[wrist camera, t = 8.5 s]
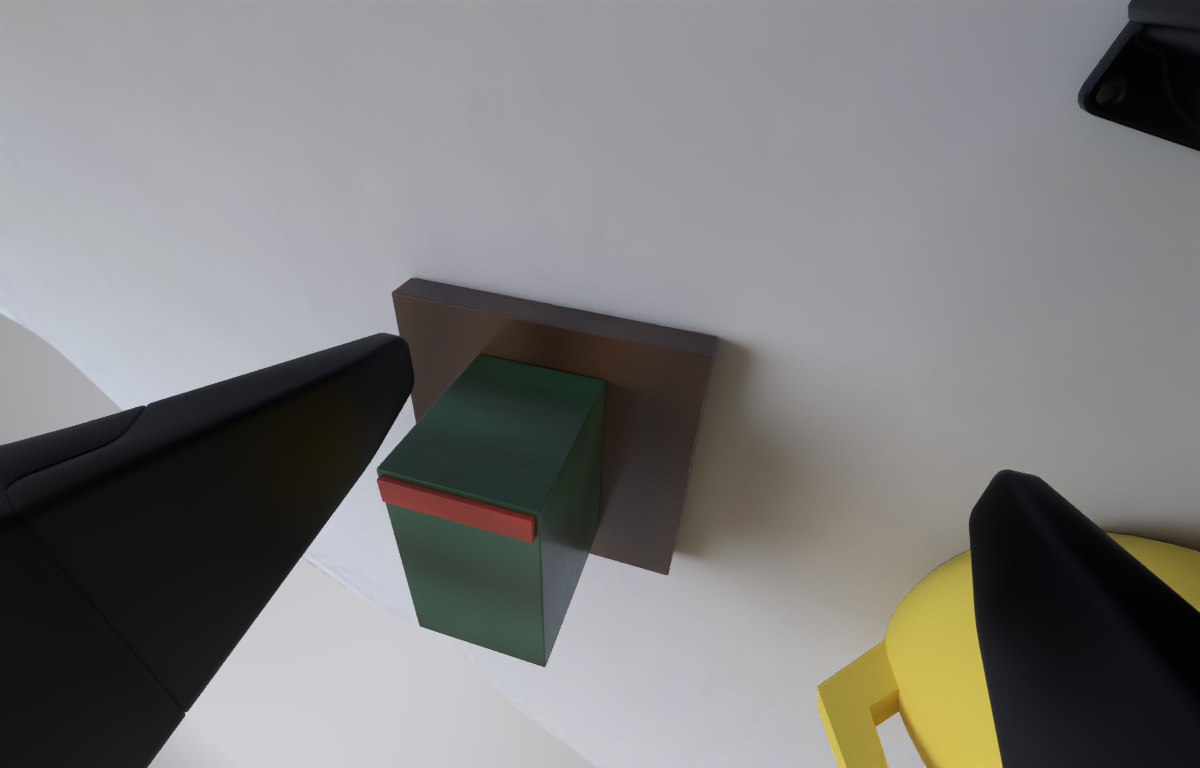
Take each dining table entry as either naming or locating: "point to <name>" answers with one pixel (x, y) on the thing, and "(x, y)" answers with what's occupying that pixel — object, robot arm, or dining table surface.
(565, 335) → the brown square board
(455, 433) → the green box
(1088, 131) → the dining table surface
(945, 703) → the teapot
